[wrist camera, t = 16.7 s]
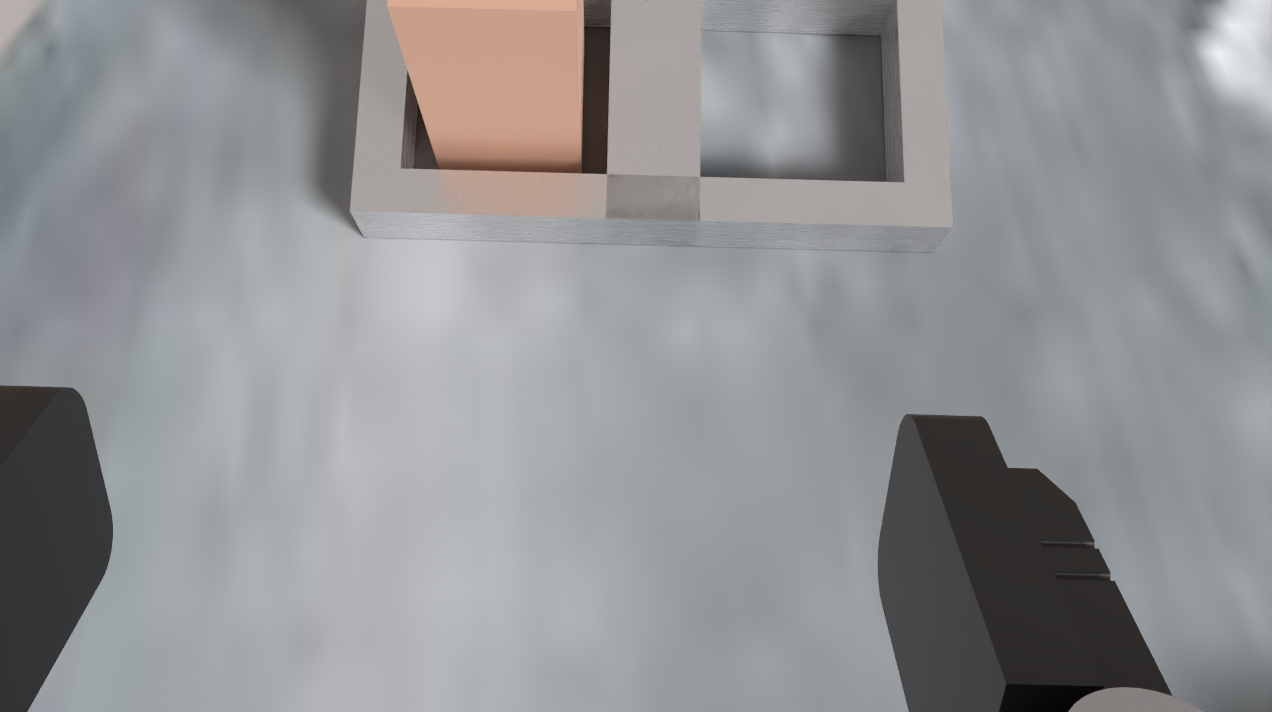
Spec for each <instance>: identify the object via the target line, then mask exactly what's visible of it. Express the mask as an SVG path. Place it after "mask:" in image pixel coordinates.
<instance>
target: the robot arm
mask: <svg viewBox="0 0 1272 712" xmlns="http://www.w3.org/2000/svg"><path fill="white" fill-rule="evenodd" d="M112 540H113V522H112V514H111V509H110V505H109V501H108V496H107V492H106V488H105V484H104V480H103V475H102V471H101V467H100V463H99V459H98V454H97V450H96V446H95V442H94V438H93V434H92V429H91V425H90V421H89V417H88V413H87V409H86V406H85V403H84V401H83V398H82V397H81V395H80V394H79V393H78V392H77V391H76V390H75V389H73V388H68V387H34V386H0V712H27V711H28V709H29V708H30V706H31V704H32V702H33V701H34V699H35V697H36V695H37V694H38V692H39V690H40V688H41V686H42V685H43V683H44V681H45V679H46V678H47V676H48V674H49V672H50V671H51V669H52V667H53V665H54V664H55V662H56V660H57V658H58V656H59V655H60V653H61V651H62V649H63V648H64V646H65V644H66V642H67V641H68V639H69V637H70V635H71V633H72V632H73V630H74V628H75V626H76V625H77V623H78V621H79V619H80V618H81V616H82V614H83V612H84V610H85V609H86V607H87V605H88V603H89V602H90V600H91V598H92V596H93V595H94V593H95V591H96V589H97V587H98V586H99V584H100V582H101V580H102V578H103V576H104V574H105V572H106V569H107V566H108V563H109V559H110V554H111V549H112ZM1094 542H1095V541H1094V539H1093V537H1092V535H1091V533H1090V531H1089V529H1088V527H1087V525H1086V523H1085V521H1084V519H1083V517H1082V515H1081V513H1080V511H1079V509H1078V507H1077V505H1076V503H1075V502H1074V501H1073V500H1072V499H1071V498H1069V497H1068V496H1067V495H1066V494H1065V493H1064V492H1063V491H1062V490H1060V489H1059V488H1058V487H1057V486H1056V485H1055V484H1054V483H1053V482H1051V481H1050V480H1049V479H1048V478H1047V477H1046V476H1045V475H1044V474H1042V473H1041V472H1040V471H1039V470H1038V469H1026V468H1007V465H1006V463H1005V461H1004V459H1003V456H1002V454H1001V452H1000V450H999V447H998V445H997V443H996V440H995V438H994V436H993V434H992V431H991V429H990V427H989V425H988V423H987V421H986V420H985V419H984V418H983V417H981V416H949V415H915V414H907V415H905V416H904V418H903V419H902V422H901V424H900V427H899V431H898V436H897V441H896V447H895V452H894V458H893V464H892V469H891V475H890V481H889V487H888V492H887V498H886V504H885V509H884V515H883V521H882V526H881V532H880V538H879V548H878V581H879V591H880V597H881V602H882V606H883V610H884V614H885V618H886V622H887V626H888V630H889V634H890V638H891V642H892V646H893V650H894V654H895V658H896V662H897V666H898V670H899V674H900V678H901V682H902V686H903V690H904V694H905V698H906V702H907V706H908V710H909V712H1204V711H1203V710H1201V709H1199V708H1197V707H1195V706H1193V705H1191V704H1189V703H1188V702H1185V701H1183V700H1180V699H1178V698H1176V697H1173V696H1172V694H1171V692H1170V690H1169V688H1168V686H1167V684H1166V682H1165V680H1164V678H1163V676H1162V674H1161V672H1160V670H1159V668H1158V666H1157V664H1156V662H1155V660H1154V658H1153V656H1152V654H1151V652H1150V650H1149V649H1148V647H1147V645H1146V643H1145V641H1144V639H1143V637H1142V635H1141V633H1140V631H1139V629H1138V627H1137V625H1136V623H1135V621H1134V619H1133V617H1132V615H1131V613H1130V611H1129V609H1128V607H1127V605H1126V603H1125V601H1124V599H1123V597H1122V595H1121V593H1120V591H1119V589H1118V587H1117V585H1116V583H1115V581H1111V580H1110V571H1109V569H1108V567H1107V565H1106V563H1105V561H1104V559H1103V557H1102V555H1101V553H1100V551H1099V549H1095V548H1094Z"/></svg>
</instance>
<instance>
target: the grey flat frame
mask: <svg viewBox="0 0 1272 712" xmlns="http://www.w3.org/2000/svg"><path fill="white" fill-rule="evenodd" d="M583 2H584V26H585V27H611V35H610V75H609V114H608V154H607V174H582V173H546V172H510V171H474V170H438V169H414V156H415V141H416V127H417V112H418V101H417V98H416V95H415V92H414V89H413V85H412V82H411V79H410V76H409V73H408V70H407V67H406V63H405V60H404V57H403V54H402V51H401V48H400V45H399V42H398V38H397V35H396V32H395V29H394V26H393V23H392V20H391V16H390V13H389V10H388V7H387V4H388V0H367V5H366V17H365V30H364V42H363V54H362V66H361V79H360V91H359V103H358V115H357V128H356V140H355V152H354V164H353V177H352V189H351V201H350V213H351V215H352V216H353V218H354V220H355V222H356V224H357V226H358V227H359V229H360V231H361V233H362V235H363V236H364V237H370V238H408V239H445V240H483V241H521V242H559V243H597V244H635V245H672V246H710V247H748V248H786V249H824V250H862V251H899V252H934V250H935V249H936V248H937V247H938V245H939V244H940V243H941V242H942V240H943V239H944V238H945V237H946V235H947V234H948V233H949V232H950V230H951V229H952V228H953V221H952V202H951V182H950V162H949V143H948V123H947V103H946V84H945V64H944V45H943V25H942V5H941V0H583ZM701 30H715V31H747V32H780V33H812V34H845V35H878V36H881V52H882V79H883V106H884V133H885V161H886V182H869V181H833V180H798V179H762V178H726V177H700V136H701Z"/></svg>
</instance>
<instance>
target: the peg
mask: <svg viewBox="0 0 1272 712" xmlns="http://www.w3.org/2000/svg"><path fill="white" fill-rule="evenodd" d="M387 7H388V10H389V13H390V16H391V20H392V23H393V26H394V29H395V32H396V35H397V38H398V42H399V45H400V48H401V51H402V54H403V57H404V60H405V63H406V67H407V70H408V73H409V76H410V79H411V82H412V85H413V89H414V92H415V95H416V98H417V101H418V104H419V107H420V111H421V114H422V117H423V120H424V123H425V126H426V129H427V132H428V136H429V139H430V142H431V145H432V148H433V151H434V154H435V158H436V161H437V164H438V167H439V170H474V171H510V172H546V173H582V145H583V100H584V55H585V46H584V2H583V0H388V4H387Z"/></svg>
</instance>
